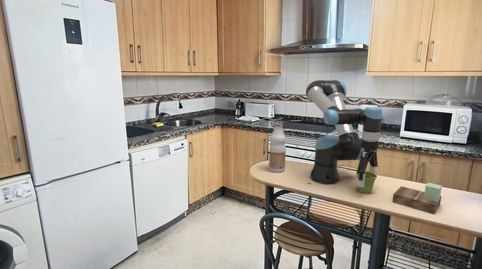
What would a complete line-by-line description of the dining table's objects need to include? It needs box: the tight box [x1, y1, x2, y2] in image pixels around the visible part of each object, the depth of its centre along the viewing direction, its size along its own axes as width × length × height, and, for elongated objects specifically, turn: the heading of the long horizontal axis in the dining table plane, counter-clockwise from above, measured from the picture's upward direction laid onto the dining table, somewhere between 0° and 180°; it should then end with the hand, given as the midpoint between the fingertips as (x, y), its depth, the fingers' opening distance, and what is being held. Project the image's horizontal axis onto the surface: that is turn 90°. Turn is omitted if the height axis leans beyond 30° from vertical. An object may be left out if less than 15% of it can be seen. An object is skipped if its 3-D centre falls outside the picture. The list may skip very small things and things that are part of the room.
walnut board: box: [392, 186, 442, 215], centre depth 125 cm, size 16×12×4 cm
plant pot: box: [355, 170, 378, 194], centre depth 137 cm, size 9×9×9 cm
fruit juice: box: [268, 122, 287, 174], centre depth 164 cm, size 9×9×28 cm
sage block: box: [424, 182, 443, 202], centre depth 120 cm, size 5×5×6 cm
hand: (366, 182), depth 137 cm, fingers open, 13 cm apart
